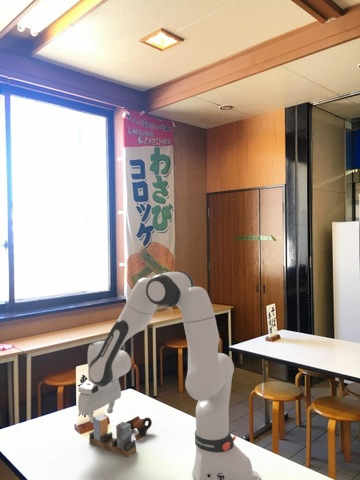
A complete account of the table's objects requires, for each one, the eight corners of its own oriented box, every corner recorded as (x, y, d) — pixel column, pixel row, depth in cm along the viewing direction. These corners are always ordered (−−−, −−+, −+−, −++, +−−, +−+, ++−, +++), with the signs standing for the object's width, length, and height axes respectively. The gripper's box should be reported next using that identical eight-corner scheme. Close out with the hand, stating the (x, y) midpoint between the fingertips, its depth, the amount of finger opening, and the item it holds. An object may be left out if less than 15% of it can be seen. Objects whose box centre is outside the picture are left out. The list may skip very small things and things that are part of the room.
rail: (136, 451, 152) (135, 424, 152) (127, 457, 148) (126, 430, 148) (98, 437, 163) (97, 413, 163) (89, 443, 159) (88, 417, 159)
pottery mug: (130, 444, 158) (122, 424, 160) (126, 445, 166) (119, 425, 168) (157, 430, 163) (149, 410, 165) (152, 431, 171) (144, 412, 173)
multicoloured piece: (108, 437, 159) (107, 417, 159) (101, 441, 156) (100, 420, 156) (101, 434, 161) (100, 414, 161) (93, 438, 158) (93, 418, 158)
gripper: (112, 373, 169) (114, 406, 169) (74, 389, 152) (76, 425, 152) (123, 375, 165) (125, 409, 165) (86, 392, 148) (88, 429, 148)
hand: (101, 417), depth 158 cm, fingers open, 8 cm apart
